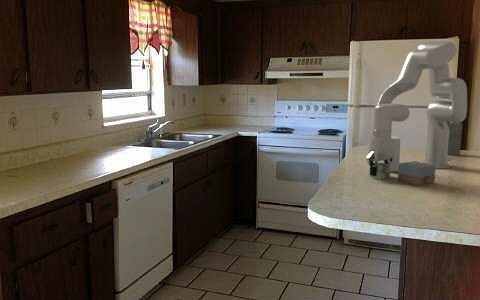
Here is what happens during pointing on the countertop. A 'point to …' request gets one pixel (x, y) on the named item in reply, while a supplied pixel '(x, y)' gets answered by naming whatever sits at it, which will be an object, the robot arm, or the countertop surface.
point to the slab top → (416, 169)
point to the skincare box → (396, 152)
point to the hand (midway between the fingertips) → (379, 174)
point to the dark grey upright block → (454, 138)
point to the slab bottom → (416, 180)
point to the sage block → (382, 171)
